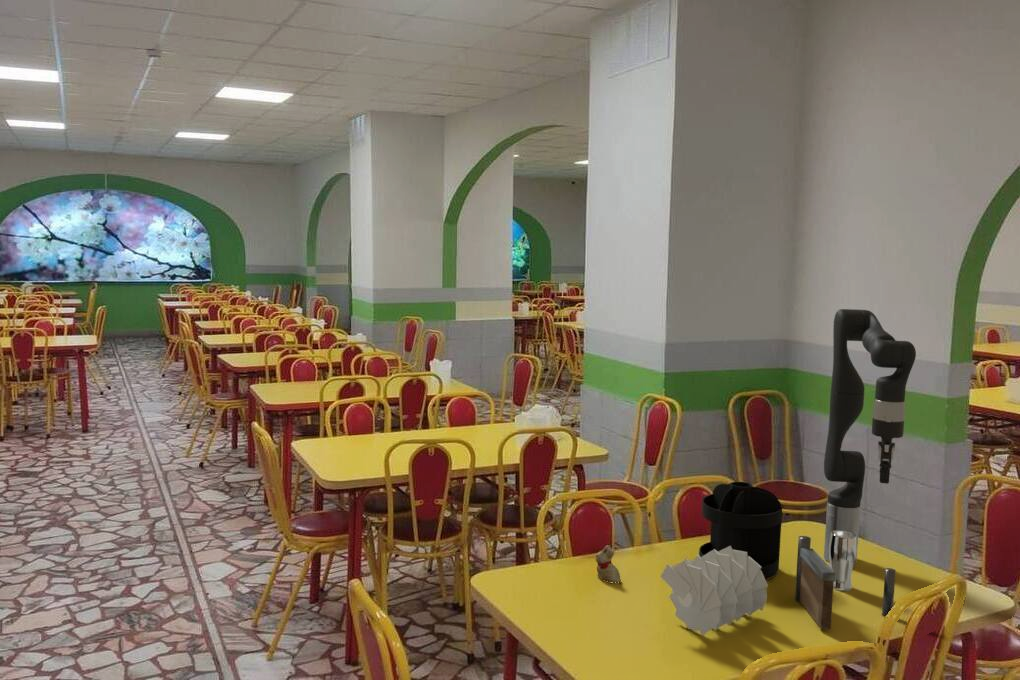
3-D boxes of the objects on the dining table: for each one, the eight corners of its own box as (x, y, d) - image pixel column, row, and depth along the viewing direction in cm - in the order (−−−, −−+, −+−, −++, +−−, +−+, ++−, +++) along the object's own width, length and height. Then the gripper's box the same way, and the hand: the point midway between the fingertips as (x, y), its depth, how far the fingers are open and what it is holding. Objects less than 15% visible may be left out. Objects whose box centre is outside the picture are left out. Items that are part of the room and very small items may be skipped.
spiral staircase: (756, 631, 214) (695, 654, 198) (706, 582, 226) (645, 600, 210) (790, 576, 207) (730, 595, 191) (737, 528, 219) (676, 543, 203)
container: (744, 551, 261) (748, 471, 258) (793, 578, 240) (799, 492, 237) (682, 559, 253) (686, 476, 251) (727, 587, 232) (732, 497, 229)
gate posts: (795, 597, 226) (799, 535, 225) (892, 614, 217) (896, 549, 215) (794, 601, 223) (798, 538, 222) (892, 618, 214) (897, 553, 213)
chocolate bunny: (611, 573, 240) (613, 538, 239) (622, 583, 233) (624, 548, 232) (593, 574, 239) (594, 540, 238) (604, 585, 231) (605, 549, 230)
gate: (809, 600, 222) (812, 548, 221) (831, 629, 205) (835, 572, 204) (797, 600, 222) (800, 548, 221) (819, 628, 205) (822, 572, 204)
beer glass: (855, 593, 230) (859, 539, 229) (828, 590, 232) (832, 536, 230) (851, 583, 237) (854, 531, 236) (824, 581, 238) (828, 528, 237)
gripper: (872, 411, 228) (868, 471, 229) (872, 420, 215) (868, 483, 216) (903, 414, 225) (899, 474, 226) (905, 423, 212) (900, 487, 213)
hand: (884, 479), depth 221 cm, fingers open, 8 cm apart
